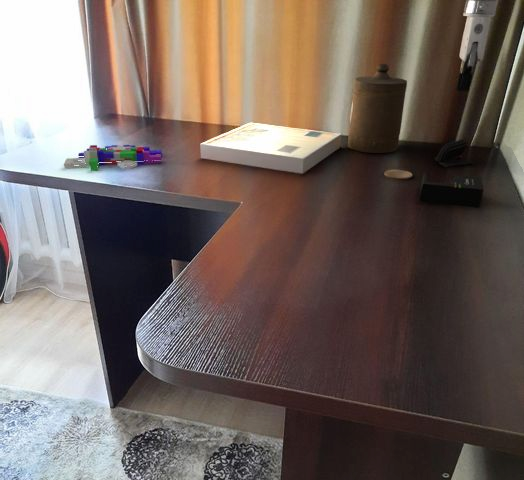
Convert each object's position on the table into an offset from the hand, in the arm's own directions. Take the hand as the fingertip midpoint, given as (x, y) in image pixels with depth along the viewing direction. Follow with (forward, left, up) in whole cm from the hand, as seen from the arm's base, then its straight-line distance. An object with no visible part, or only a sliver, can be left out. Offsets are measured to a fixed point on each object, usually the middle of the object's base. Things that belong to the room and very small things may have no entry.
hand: (461, 90), depth 138 cm
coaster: (+15, +25, -17) cm, 33 cm away
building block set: (+91, +28, -17) cm, 96 cm away
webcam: (0, +10, -17) cm, 19 cm away
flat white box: (+50, +11, -17) cm, 54 cm away
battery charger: (+4, +40, -17) cm, 43 cm away
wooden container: (+22, -2, -17) cm, 28 cm away
